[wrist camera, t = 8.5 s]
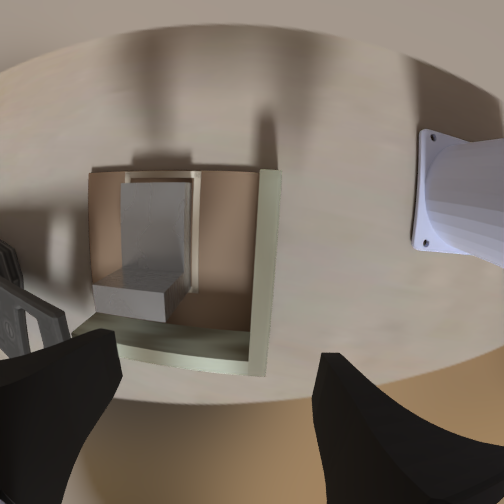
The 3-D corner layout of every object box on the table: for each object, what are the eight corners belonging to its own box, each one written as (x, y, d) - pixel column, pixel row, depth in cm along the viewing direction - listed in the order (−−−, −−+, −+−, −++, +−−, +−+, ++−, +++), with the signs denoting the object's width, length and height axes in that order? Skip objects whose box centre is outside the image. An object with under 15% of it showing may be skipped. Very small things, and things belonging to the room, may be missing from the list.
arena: (278, 174, 17) (282, 170, 13) (265, 342, 19) (265, 376, 15) (91, 173, 17) (57, 172, 13) (100, 322, 20) (74, 346, 16)
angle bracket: (190, 288, 18) (165, 322, 13) (133, 282, 18) (95, 311, 13) (192, 182, 17) (163, 180, 12) (131, 183, 17) (88, 183, 12)
